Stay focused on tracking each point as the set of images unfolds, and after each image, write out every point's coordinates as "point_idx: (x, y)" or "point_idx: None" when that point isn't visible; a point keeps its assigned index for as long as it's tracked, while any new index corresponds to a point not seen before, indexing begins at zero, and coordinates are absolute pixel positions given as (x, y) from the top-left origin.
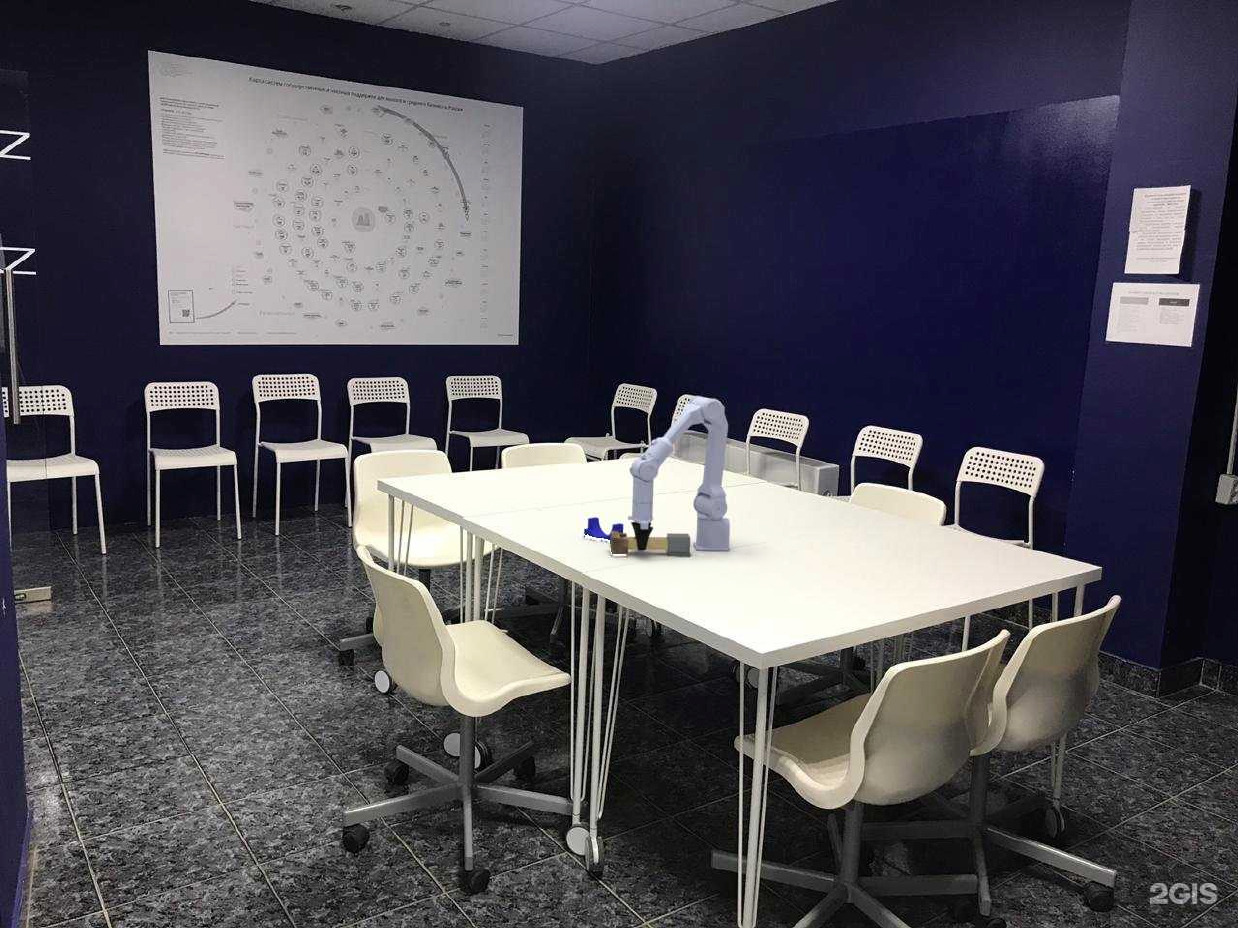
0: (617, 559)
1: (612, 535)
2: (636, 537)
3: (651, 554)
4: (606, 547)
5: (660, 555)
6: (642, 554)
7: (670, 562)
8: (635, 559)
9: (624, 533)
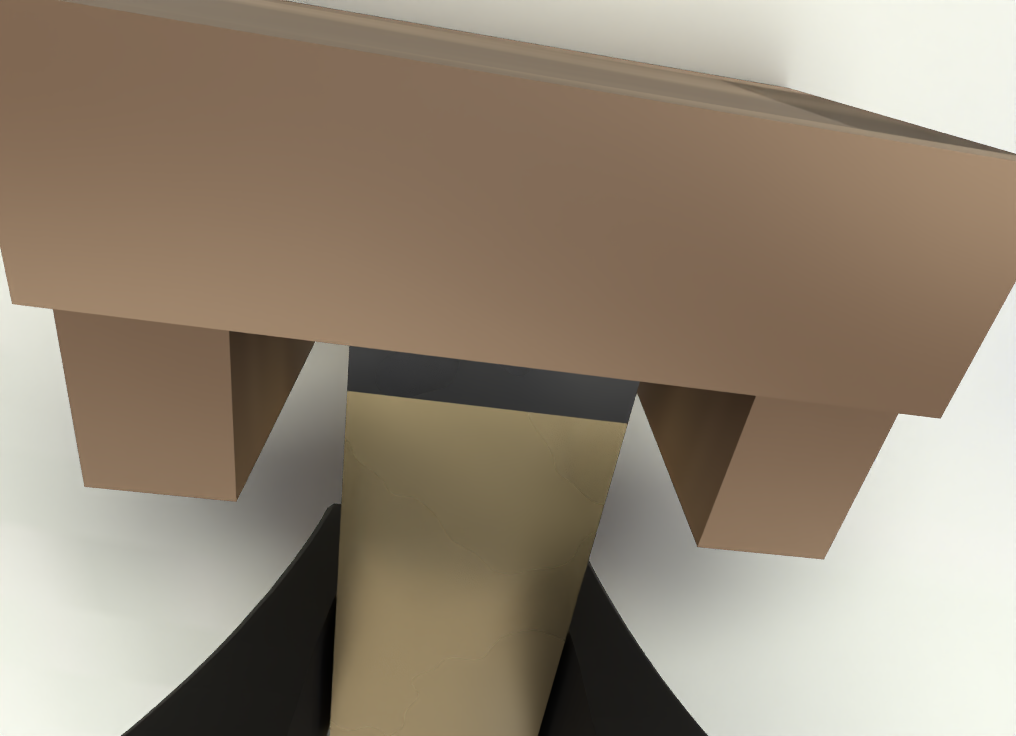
0: None
1: (356, 81)
2: (193, 673)
3: None
4: (1004, 62)
5: None
6: None
7: (26, 700)
8: None
9: (792, 516)
